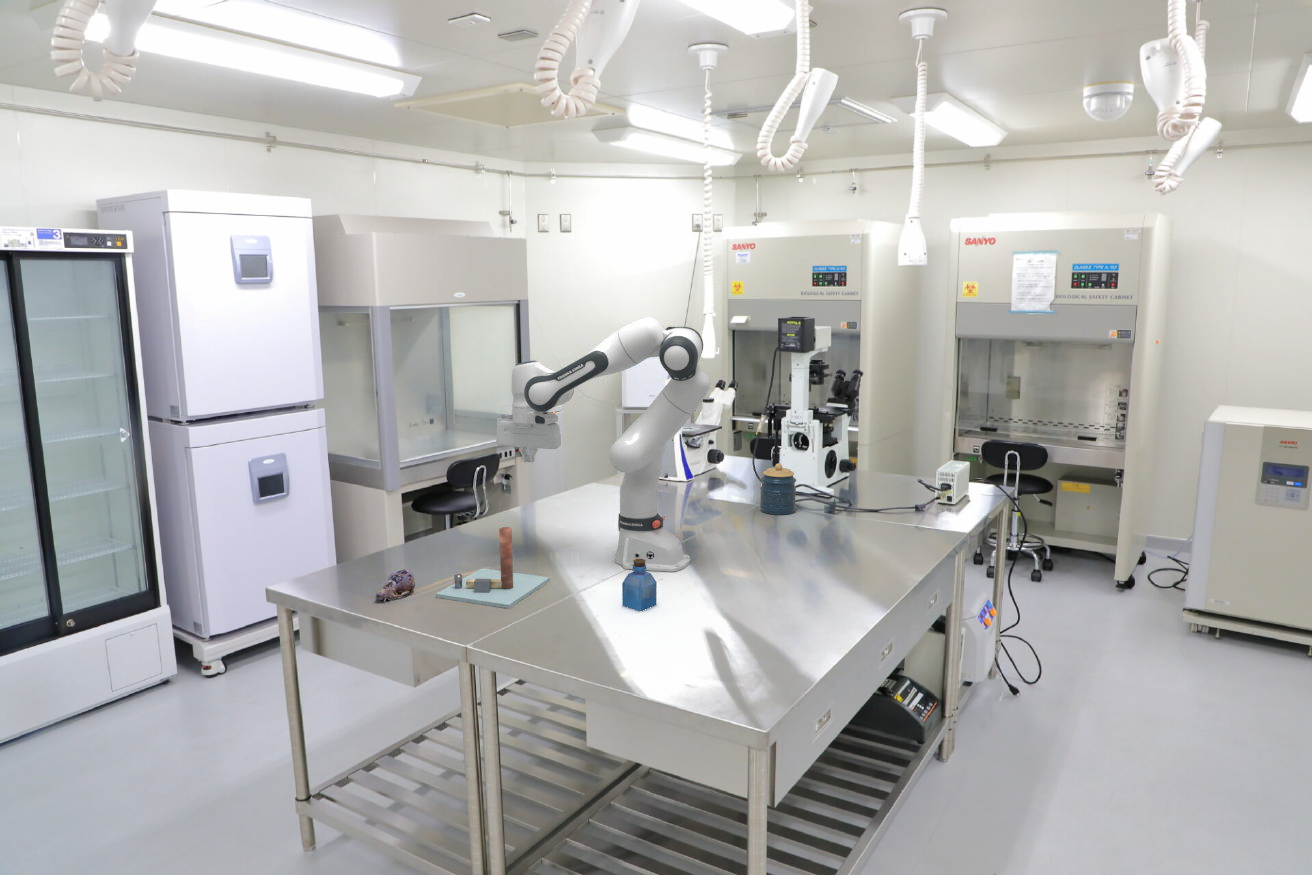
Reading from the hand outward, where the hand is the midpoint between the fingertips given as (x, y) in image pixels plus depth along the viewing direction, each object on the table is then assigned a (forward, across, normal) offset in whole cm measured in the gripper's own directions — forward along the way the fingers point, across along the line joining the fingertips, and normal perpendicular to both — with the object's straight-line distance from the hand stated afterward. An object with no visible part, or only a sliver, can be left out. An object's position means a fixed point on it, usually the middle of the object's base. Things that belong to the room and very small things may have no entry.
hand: (528, 461), depth 253 cm
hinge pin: (+29, -3, -34) cm, 45 cm away
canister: (+29, +58, +79) cm, 102 cm away
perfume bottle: (+29, +46, -26) cm, 60 cm away
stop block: (+29, +4, -34) cm, 45 cm away
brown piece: (+28, +5, -31) cm, 42 cm away
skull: (+30, -17, -43) cm, 55 cm away
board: (+29, +5, -29) cm, 41 cm away
